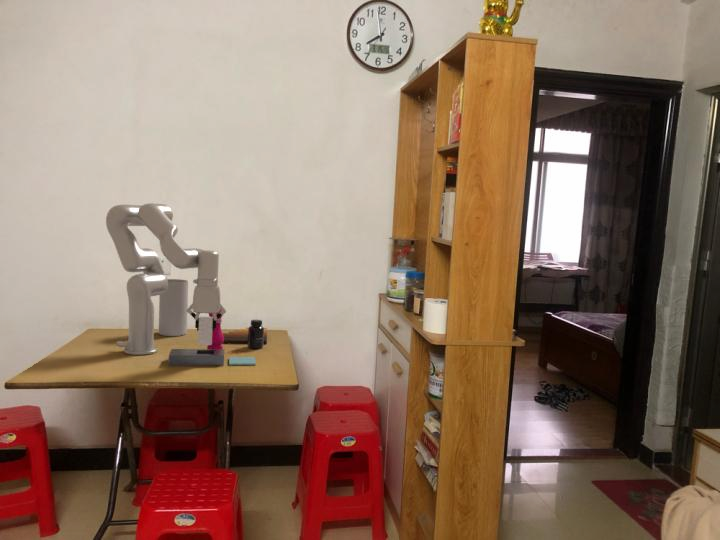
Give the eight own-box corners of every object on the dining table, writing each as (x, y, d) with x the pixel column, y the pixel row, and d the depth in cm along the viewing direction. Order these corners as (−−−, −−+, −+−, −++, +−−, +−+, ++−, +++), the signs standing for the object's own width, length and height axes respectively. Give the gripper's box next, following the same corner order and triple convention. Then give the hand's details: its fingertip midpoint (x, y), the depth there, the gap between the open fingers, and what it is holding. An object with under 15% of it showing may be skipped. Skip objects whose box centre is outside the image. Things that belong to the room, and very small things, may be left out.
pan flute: (209, 344, 256) (266, 345, 260) (209, 337, 255) (266, 338, 259) (214, 333, 280) (266, 334, 284) (214, 326, 280) (266, 327, 284)
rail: (168, 365, 216) (168, 355, 216) (171, 359, 226) (171, 349, 225) (223, 365, 220) (224, 355, 220) (224, 359, 230) (224, 349, 230)
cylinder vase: (181, 337, 264) (183, 283, 262) (154, 335, 264) (155, 281, 262) (190, 332, 277) (191, 280, 274) (164, 330, 277) (165, 278, 275)
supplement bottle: (259, 350, 248) (260, 322, 247) (244, 348, 250) (245, 321, 249) (265, 346, 255) (266, 319, 254) (251, 345, 256) (251, 318, 255)
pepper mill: (227, 349, 246) (228, 303, 244) (216, 353, 239) (217, 305, 237) (213, 347, 249) (214, 301, 247) (202, 350, 242) (203, 303, 240)
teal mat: (229, 365, 221) (229, 363, 221) (229, 359, 231) (229, 357, 230) (255, 365, 223) (255, 363, 223) (254, 359, 233) (254, 357, 233)
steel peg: (198, 344, 220) (199, 319, 219) (198, 341, 225) (199, 316, 224) (211, 345, 221) (212, 319, 220) (212, 342, 226) (213, 316, 225)
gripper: (183, 283, 215) (181, 331, 217) (230, 285, 219) (228, 332, 221) (185, 281, 223) (183, 327, 224) (230, 282, 226) (228, 328, 228)
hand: (205, 329), depth 223 cm, fingers closed on steel peg, 5 cm apart
